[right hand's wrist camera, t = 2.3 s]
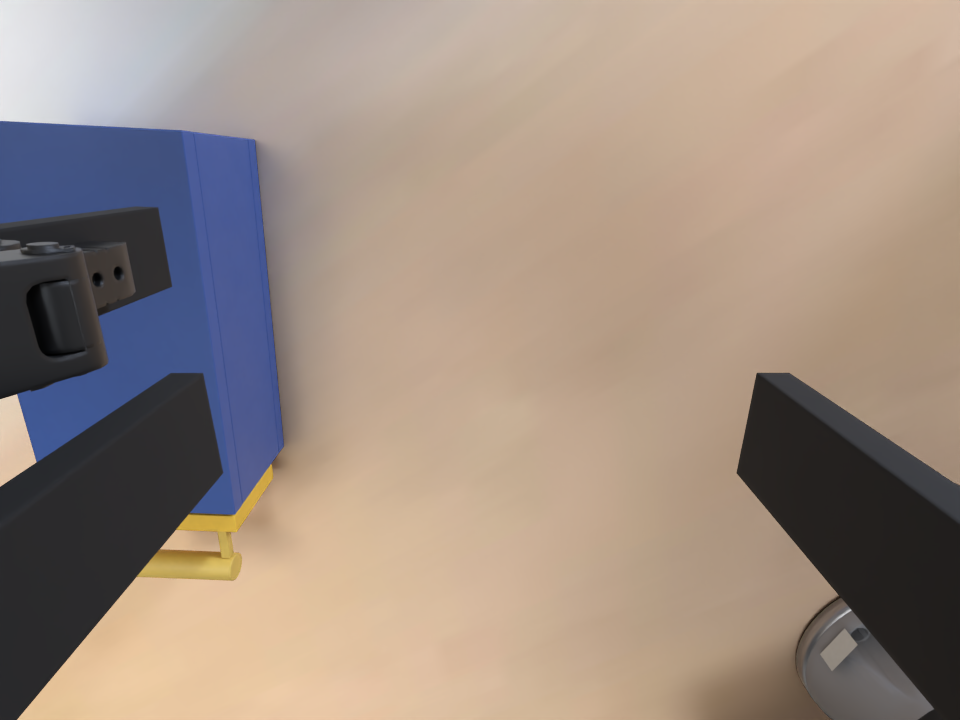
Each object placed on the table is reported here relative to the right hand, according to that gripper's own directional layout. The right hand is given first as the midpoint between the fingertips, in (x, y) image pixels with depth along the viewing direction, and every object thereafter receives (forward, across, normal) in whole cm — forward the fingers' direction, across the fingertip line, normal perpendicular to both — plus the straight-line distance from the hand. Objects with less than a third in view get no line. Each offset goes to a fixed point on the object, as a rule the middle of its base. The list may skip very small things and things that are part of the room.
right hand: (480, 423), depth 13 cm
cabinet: (+22, +19, +3) cm, 30 cm away
